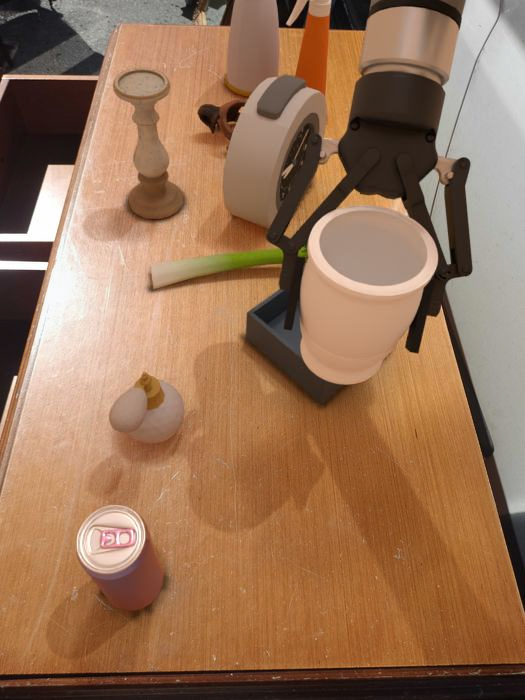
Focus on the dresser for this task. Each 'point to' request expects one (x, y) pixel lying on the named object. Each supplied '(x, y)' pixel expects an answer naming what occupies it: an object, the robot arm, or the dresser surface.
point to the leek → (215, 265)
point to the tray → (285, 343)
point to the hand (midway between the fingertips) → (349, 339)
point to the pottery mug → (221, 116)
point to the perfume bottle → (148, 410)
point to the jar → (361, 289)
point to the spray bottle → (313, 43)
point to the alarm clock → (270, 146)
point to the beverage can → (120, 556)
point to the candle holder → (149, 144)
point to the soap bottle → (252, 45)
